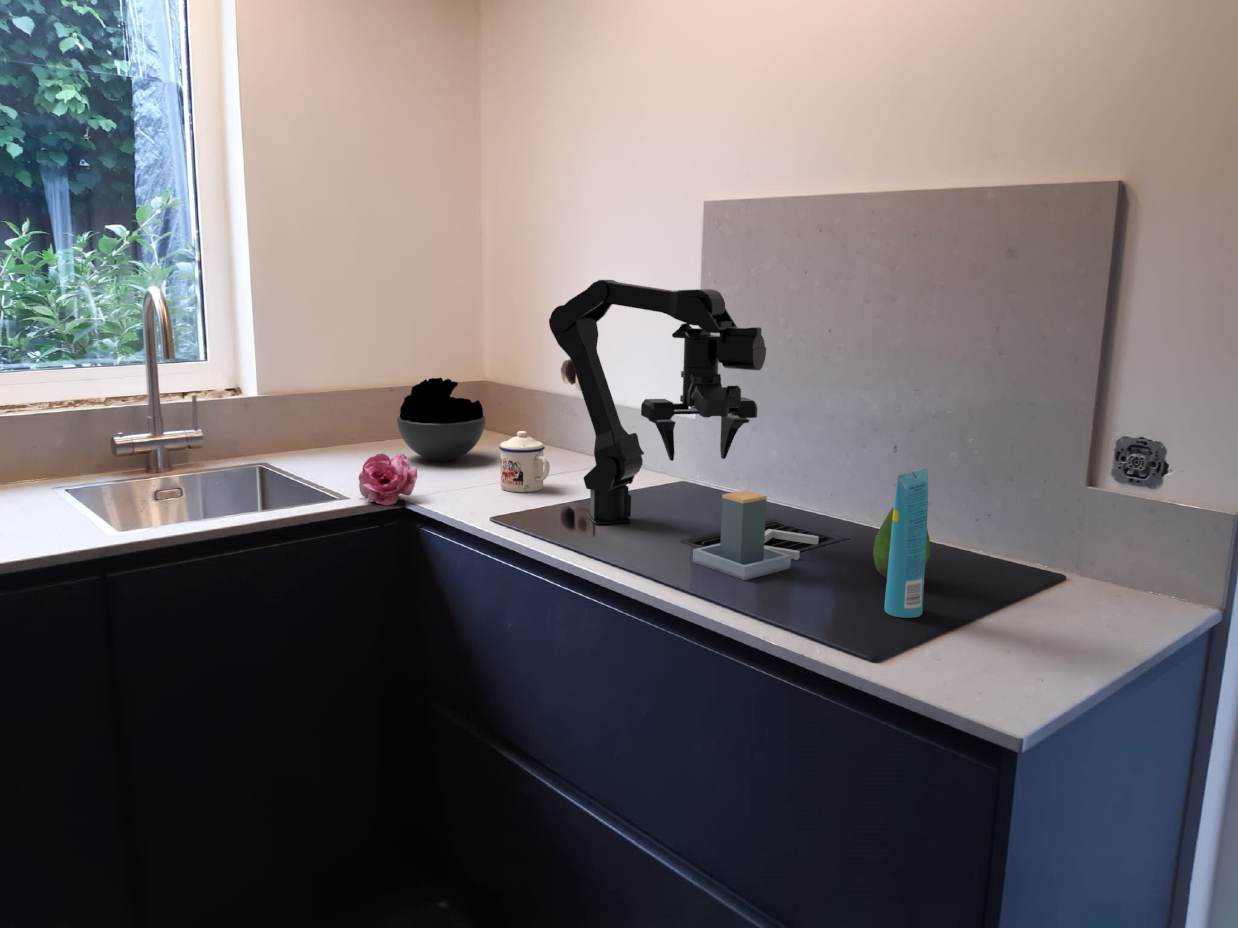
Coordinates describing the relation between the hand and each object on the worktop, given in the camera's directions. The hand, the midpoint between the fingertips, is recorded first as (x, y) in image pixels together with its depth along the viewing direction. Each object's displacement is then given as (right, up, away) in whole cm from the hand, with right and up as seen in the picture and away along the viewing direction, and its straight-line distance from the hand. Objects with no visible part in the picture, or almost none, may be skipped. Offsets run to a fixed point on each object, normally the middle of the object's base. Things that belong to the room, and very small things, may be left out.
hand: (697, 459), depth 161 cm
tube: (+24, -21, -33) cm, 46 cm away
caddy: (+6, -16, -14) cm, 22 cm away
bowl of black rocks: (-54, 0, +61) cm, 82 cm away
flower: (-57, -8, +23) cm, 62 cm away
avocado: (+28, -18, -20) cm, 39 cm away
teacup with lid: (-32, -6, +34) cm, 47 cm away
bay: (+14, -14, -5) cm, 21 cm away
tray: (+6, -16, -14) cm, 22 cm away
